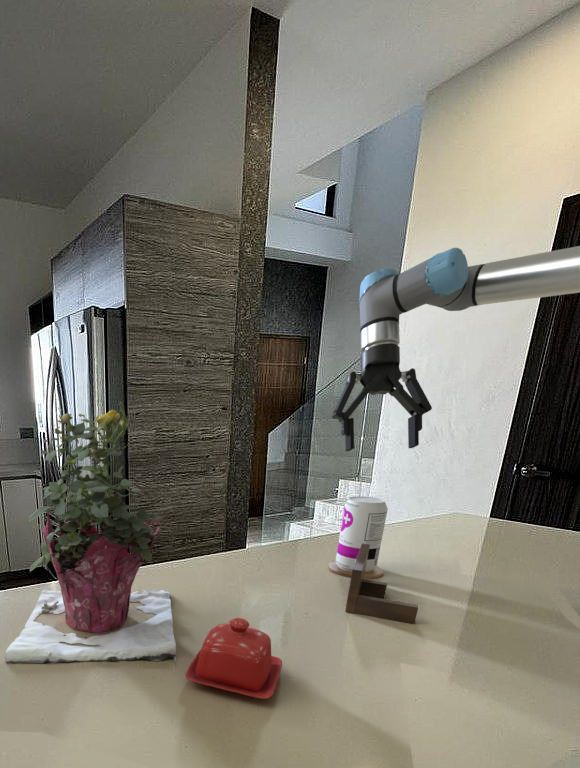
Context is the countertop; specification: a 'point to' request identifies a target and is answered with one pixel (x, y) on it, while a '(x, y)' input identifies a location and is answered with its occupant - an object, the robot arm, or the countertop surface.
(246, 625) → the butter dish
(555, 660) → the countertop surface
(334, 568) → the cork coaster
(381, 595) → the dark wooden l-bracket
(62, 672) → the countertop surface
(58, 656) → the potted flower
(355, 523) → the supplement can
